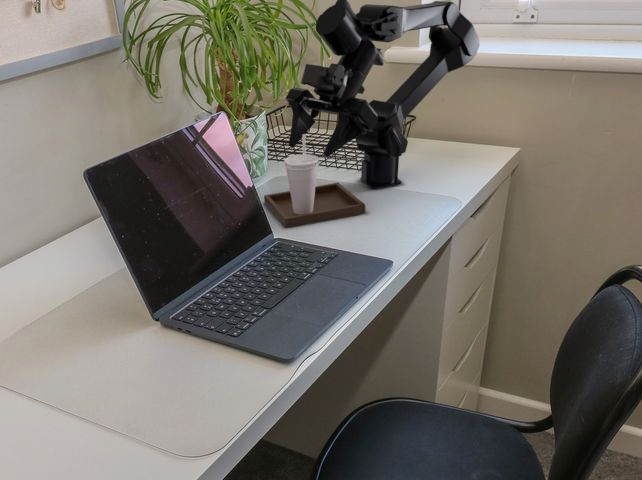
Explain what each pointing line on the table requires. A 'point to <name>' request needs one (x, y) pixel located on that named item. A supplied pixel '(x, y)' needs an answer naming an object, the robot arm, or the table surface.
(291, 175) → the smoothie
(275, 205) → the tray
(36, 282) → the table surface
